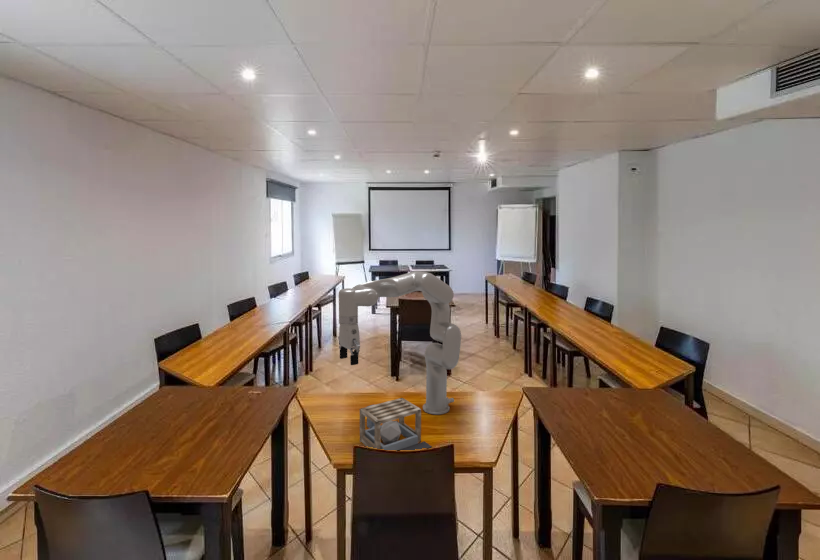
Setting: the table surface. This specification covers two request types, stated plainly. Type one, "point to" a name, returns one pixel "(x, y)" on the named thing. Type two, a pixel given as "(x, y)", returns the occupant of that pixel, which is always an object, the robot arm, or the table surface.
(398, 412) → the tunnel
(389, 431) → the die
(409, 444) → the tray with upright post
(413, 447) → the pit mat
